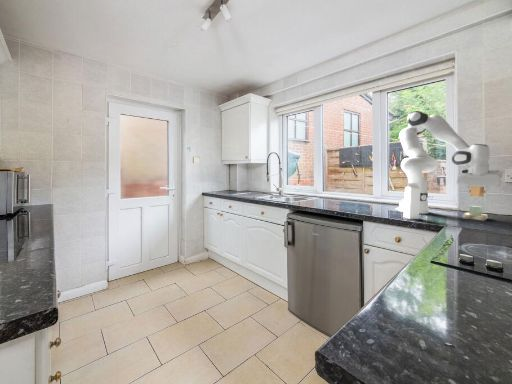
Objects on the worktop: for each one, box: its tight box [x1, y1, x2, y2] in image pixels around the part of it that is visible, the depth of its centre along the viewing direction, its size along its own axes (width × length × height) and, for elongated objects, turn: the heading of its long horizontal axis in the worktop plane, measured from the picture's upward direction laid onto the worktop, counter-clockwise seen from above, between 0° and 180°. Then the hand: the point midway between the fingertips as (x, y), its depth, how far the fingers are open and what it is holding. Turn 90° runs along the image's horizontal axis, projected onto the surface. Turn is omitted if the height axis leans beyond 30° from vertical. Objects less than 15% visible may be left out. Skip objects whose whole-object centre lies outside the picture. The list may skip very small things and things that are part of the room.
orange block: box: [470, 185, 485, 198], centre depth 152 cm, size 4×4×6 cm
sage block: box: [468, 205, 483, 215], centre depth 153 cm, size 5×5×5 cm
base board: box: [462, 212, 489, 221], centre depth 154 cm, size 10×10×2 cm
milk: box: [402, 182, 420, 220], centre depth 153 cm, size 6×6×22 cm
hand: (477, 193), depth 152 cm, fingers closed on orange block, 5 cm apart
